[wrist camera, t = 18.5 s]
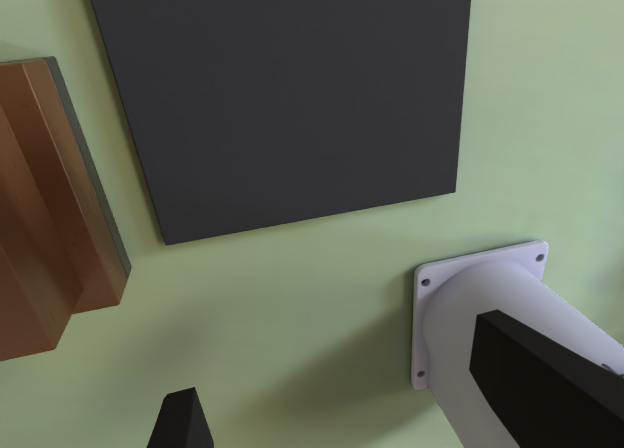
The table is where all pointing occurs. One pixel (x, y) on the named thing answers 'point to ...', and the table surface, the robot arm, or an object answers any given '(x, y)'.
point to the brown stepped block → (49, 214)
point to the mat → (287, 105)
